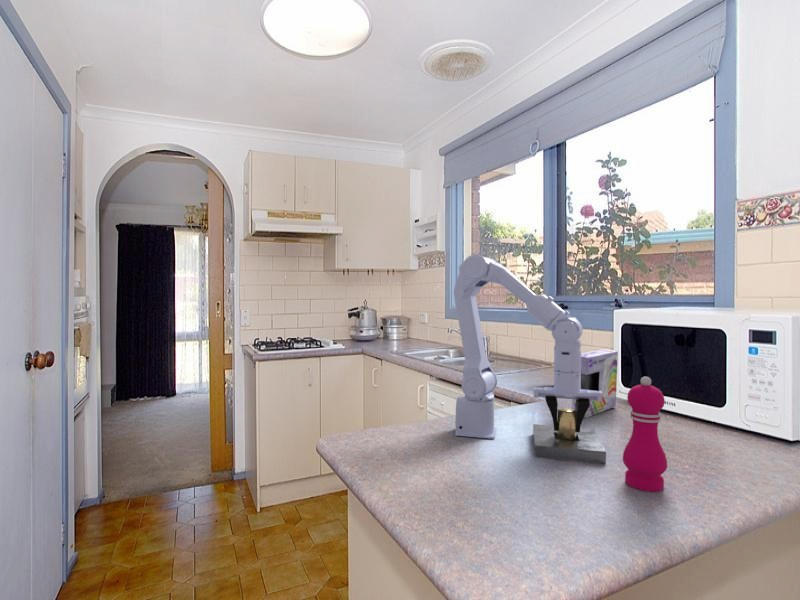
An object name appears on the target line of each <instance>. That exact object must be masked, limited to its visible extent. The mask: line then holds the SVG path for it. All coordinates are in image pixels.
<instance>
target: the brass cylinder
mask: <svg viewBox="0 0 800 600" xmlns="http://www.w3.org/2000/svg"><path fill="white" fill-rule="evenodd" d="M576 419H577V411H576V410H573V409H572V408H566V407H564V408H563V407H562V408H561V407H560V408H557V422H558V431H557V439H558V440H570V441H576Z"/></svg>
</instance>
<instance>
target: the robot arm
mask: <svg viewBox="0 0 800 600" xmlns="http://www.w3.org/2000/svg"><path fill="white" fill-rule="evenodd" d="M489 283H493V284H499V285H501V286H502V287H503V288H505V289H506V290H507V291H508V292H510V293H511V294H512V295H514V297H516V298H518V299H519V300H520V301H521V302H522V303H523V304H525V305H526V310H527V314H528V315H530V316H531V317H532V318H533V319H534V320H535V321H536V322H538V324H540V325H541V326H542V327H543V328H545V330H547V331H551V336H552V338H553V340H554V347H555V350H553V351H554V354H553V387H551V386H550V387H545V386H544V387H535V386H534V387H533V398H537V399H538V398H544V400H545V402H546V405H547V408H548V411H549V412H550V415H551V419H552V423H553V426H554V431H558V409H559V408H558V405H559V403H558V399H567V400H572V399H576V411H577V419H576V432H578V433H580V428H582V427H581V426H582V423H583V420H584V416H585V413H586V412H587V410H588V408H589V406H590V402H589V400H597V401H601V402H602V392H601V391H593V390H585V389H581V354H582V351H581V348H582V343H581V339H580V338H581V337H582V336H583V328H584V327H583V325H582V324H581V322H580V321H579V320H578V318H577V317H574V316H570V314H571V313H570V312H569V311H568V310H564V309H562V308H561V306H559V305H558V304H556V303H555V302H554V300H555V298H553V297H552V295H551V296H550V295H548V296H547V295H546V294H542V293H541V294H535V292H534V291H532V289H530V288H529V287H528V286H527V285H526V284H525V283H524V282H523V281H521V280H520V279H519V278H518V277H517V276H516V275H515V274H513V272H512V271H510V270H509V269H508V268H506V266H504V265H503V264H501V263H500V262H496V260H495V259H494V258H492V257H489V256H482V255H480V254H470V255H469V256H467V257H466V259H465V260H464V261H463V262H462V263H461V264H460V265H459V267H458V276H457V279H456V282H455V285H454V288H453V294H454V295H453V296H454V303H455V307H456V308H455V309H456V313H457V320H458V325H459V326H458V327H459V331H460V338H461V342H462V343H461V344H462V349H463V350H462V351H463V354H464V359H465V360H464V364H463V368H462V381H461V390H462V392H463V394H464V396H457V397H456V403H455V434H454V435H455V436H457V437H458V436H459V437H466V438H467V437H469V438H478V439H479V438H480V439H490V440H493V439H496V434H497V433H496V432H497V427H495V395H494V393H493V391H495V389H496V387H497V385H498V378H497V376H496V374H495V372H494V371H493V369H492V364H491V362H490V361H489V359H488V357H487V353H486V349H485V343H484V342H485V341H484V337H483V332H482V325H481V320H480V314H479V313H480V312H479V308H478V303H477V295H478V293H479V292H480V290H481V289H482V288H483V287H484V286H485V285H487V284H489Z"/></svg>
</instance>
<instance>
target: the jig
mask: <svg viewBox="0 0 800 600" xmlns="http://www.w3.org/2000/svg"><path fill="white" fill-rule="evenodd" d="M532 425H533V427H532V429H533V430H532V433H533V434H532V436H533V447H534V458H541V457H542V458H543V459H551V458H553V459H554V460H562V461H563V460H564V461H575V462H584V463H595V464H604V465H605V464H607V451H606V449H605V447H604V445H603V443H602V441H601V440H600V437H599V436H598V434H597V432H596V430H595V428H589V427H588V428H587V427H580V433H578V432H576V441H570V440H558V439H557V431H554V425H548V424H534V423H533V424H532Z"/></svg>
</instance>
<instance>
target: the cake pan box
mask: <svg viewBox="0 0 800 600" xmlns="http://www.w3.org/2000/svg"><path fill="white" fill-rule="evenodd" d="M618 353H619V351H617V350H611V349H607V348H604V349H599V350H591V351H587V352H583V353H582V352H581V389H585V390H593V391H601V392H602V402H601V401H597V400H589V402H590V406H589V408H588V410H587V412H586V413H585V416H584V418H585V419H586V418H590V417H593V416H595V415H597V414H600V413H602V412H605V411H607V410H611V409H613V408H615V407H617V383H618V382H617V379H618V360H619V354H618ZM571 400H572V401H571V402H572V403H571V407H572V408H571V409H573V410H576V399H571ZM584 418H583V419H584Z"/></svg>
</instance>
